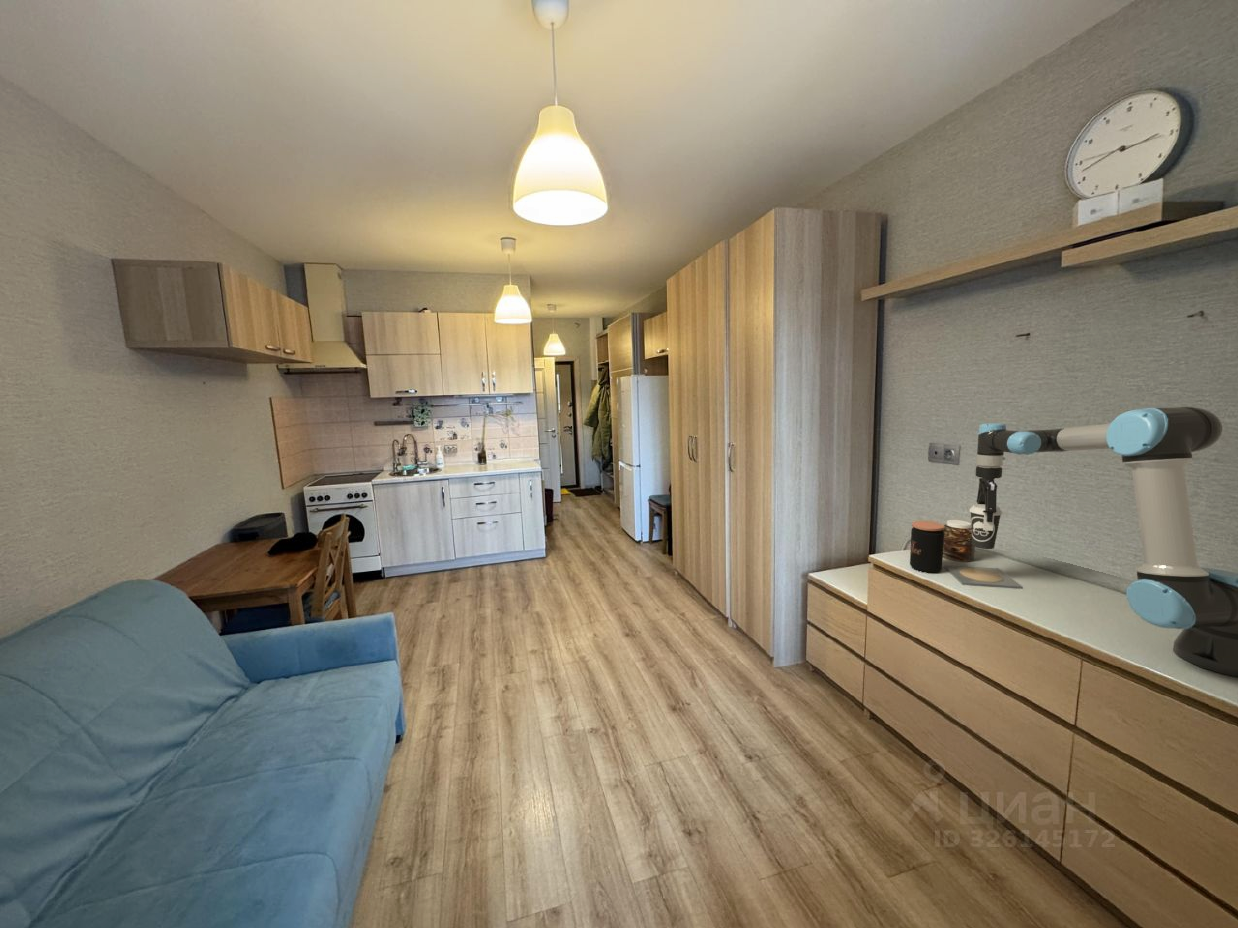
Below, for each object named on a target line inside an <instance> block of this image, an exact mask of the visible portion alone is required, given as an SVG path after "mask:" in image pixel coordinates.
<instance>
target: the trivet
mask: <svg viewBox="0 0 1238 928" xmlns="http://www.w3.org/2000/svg"><path fill="white" fill-rule="evenodd" d="M943 568H944V569H945V570H946V571H947V572H949V574H950V575H952V577H954V578H955V579H956V581H958V582H959V583H960V584H961V585H963V586H975V587H991V588H1003V589H1007V588H1008V589H1018V590H1020V589H1023V590H1024V586H1023V585H1022V584H1020V583H1019V582H1017V581H1016V580H1014V579H1013V578H1012V577H1010V575H1008V574H1007V573H1005V571H1002V570H1001V569H1000V568H998V567H982V566H966V565H964V566H963V565H949V564H947V565H946V564H944V565H943Z"/></svg>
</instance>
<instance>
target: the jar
mask: <svg viewBox="0 0 1238 928" xmlns="http://www.w3.org/2000/svg"><path fill="white" fill-rule="evenodd" d="M943 525H944V529H943V531H944V543H943V559H946V560H949V561H954V562H960V563H970V562H974V561H975V555H976V547H974V546H972V529H971V522H969V521H965V520H961V519H949V520H946V524H943Z"/></svg>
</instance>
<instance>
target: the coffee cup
mask: <svg viewBox="0 0 1238 928" xmlns="http://www.w3.org/2000/svg"><path fill="white" fill-rule="evenodd" d="M990 509H991V508H990ZM996 510H997V512H996V513H994V524H993V531H988V530H983V523H984V513H983V511H985V504H972V506H971V507H970V508H969V512H970V523H971V529H972V546H974V547H975V548H978V549H982V550H993V549H995V545H996V540H997V536H998V530H999V524H1000V521H1001V516H1002V515H1003V511H1002V510H1001V507H999V506H997V505H996Z"/></svg>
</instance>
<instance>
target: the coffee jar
mask: <svg viewBox="0 0 1238 928" xmlns="http://www.w3.org/2000/svg"><path fill="white" fill-rule="evenodd" d="M944 525H945V524H942V523H940V522H936V521H931V520H914V521H913V522H911V531H910V532H911V535H910V556H909V558H910V559H909V565H910V567H911V568H912V569H913V568H914V569H913V570H915V571H917V570H918V571H917V572H920V571H921V572H920V573H924V572H926V573H925V574H938V573H940V572H941V571H942V569H943V559H944V558H943V543H944V531H943V529H944Z"/></svg>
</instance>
